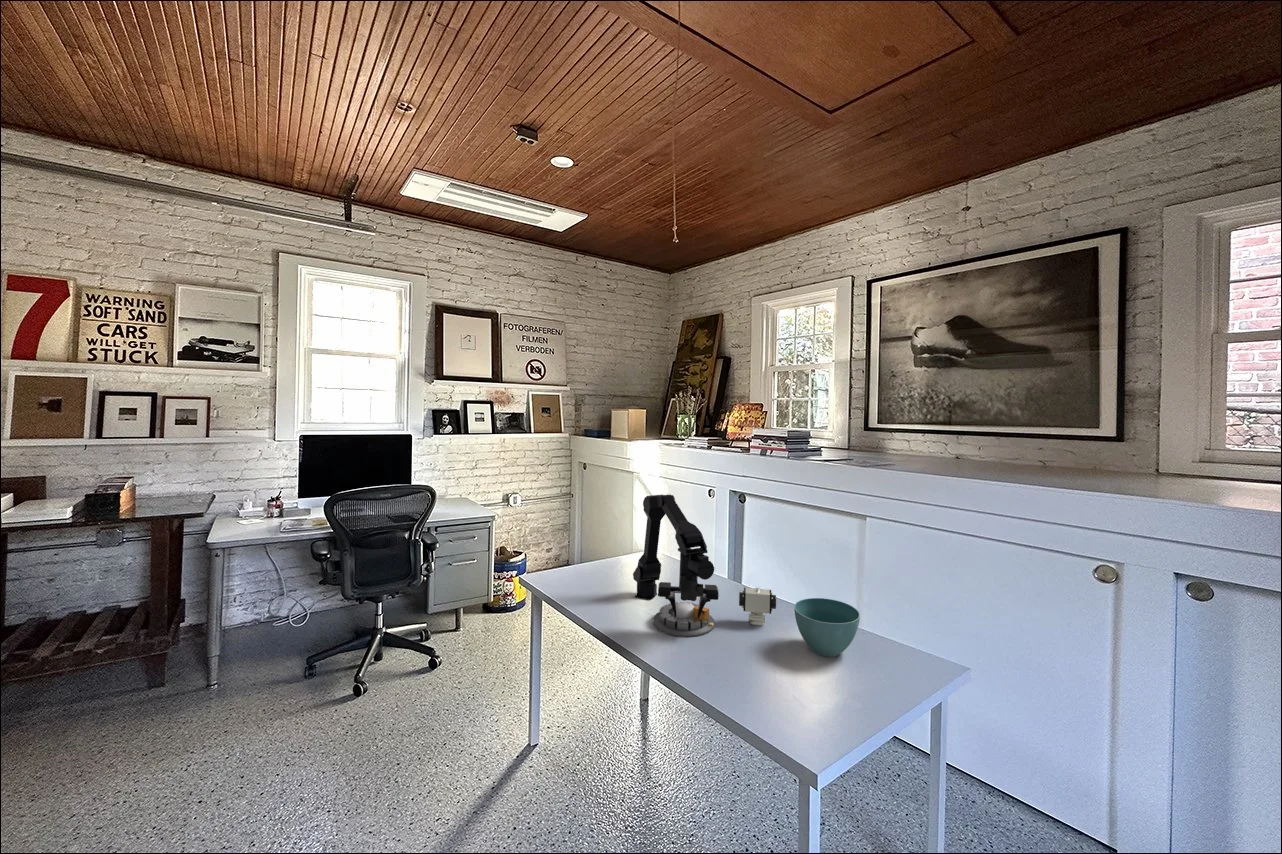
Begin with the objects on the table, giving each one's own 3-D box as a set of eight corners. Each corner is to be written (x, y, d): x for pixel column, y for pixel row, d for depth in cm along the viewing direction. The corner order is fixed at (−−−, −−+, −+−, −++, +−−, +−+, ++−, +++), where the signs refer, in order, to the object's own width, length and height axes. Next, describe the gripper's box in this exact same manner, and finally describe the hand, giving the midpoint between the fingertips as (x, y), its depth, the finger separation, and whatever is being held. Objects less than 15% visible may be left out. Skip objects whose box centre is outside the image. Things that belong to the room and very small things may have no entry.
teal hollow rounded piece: (816, 669, 145) (817, 626, 144) (781, 639, 163) (782, 600, 162) (872, 661, 150) (873, 619, 149) (832, 632, 168) (834, 595, 167)
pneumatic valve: (775, 628, 170) (776, 592, 169) (738, 624, 173) (739, 589, 172) (774, 621, 176) (775, 585, 175) (738, 617, 178) (739, 583, 177)
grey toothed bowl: (693, 635, 162) (694, 618, 161) (649, 621, 172) (649, 604, 171) (719, 618, 175) (719, 602, 174) (676, 605, 185) (676, 590, 184)
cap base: (643, 630, 168) (644, 613, 168) (665, 606, 187) (665, 591, 186) (704, 642, 160) (704, 624, 160) (721, 616, 179) (721, 600, 178)
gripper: (658, 576, 158) (656, 626, 159) (721, 579, 157) (718, 630, 158) (659, 564, 169) (657, 611, 170) (717, 567, 168) (715, 614, 169)
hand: (686, 617), depth 167 cm, fingers open, 7 cm apart
